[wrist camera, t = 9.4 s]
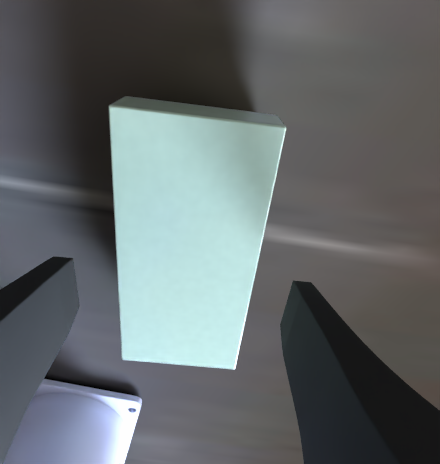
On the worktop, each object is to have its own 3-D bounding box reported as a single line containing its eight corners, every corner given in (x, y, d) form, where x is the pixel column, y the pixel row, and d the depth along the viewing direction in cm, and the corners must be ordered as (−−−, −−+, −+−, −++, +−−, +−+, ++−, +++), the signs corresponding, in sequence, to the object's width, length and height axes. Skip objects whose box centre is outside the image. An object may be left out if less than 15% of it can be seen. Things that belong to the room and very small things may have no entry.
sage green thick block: (233, 319, 18) (235, 370, 15) (137, 310, 18) (121, 360, 15) (273, 107, 12) (287, 126, 10) (134, 90, 12) (107, 104, 9)
